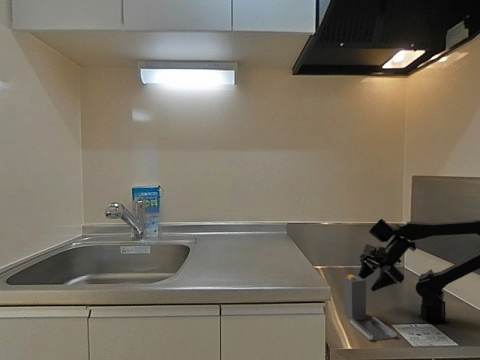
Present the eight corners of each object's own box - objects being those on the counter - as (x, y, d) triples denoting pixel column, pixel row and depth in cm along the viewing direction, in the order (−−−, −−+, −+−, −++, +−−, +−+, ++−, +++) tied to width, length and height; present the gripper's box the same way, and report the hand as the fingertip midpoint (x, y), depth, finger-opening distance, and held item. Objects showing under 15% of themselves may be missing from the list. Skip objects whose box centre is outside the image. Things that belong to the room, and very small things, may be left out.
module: (358, 312, 112) (357, 272, 112) (366, 319, 107) (365, 277, 107) (344, 314, 112) (344, 273, 111) (352, 320, 107) (351, 278, 106)
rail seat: (374, 321, 106) (374, 316, 106) (396, 337, 95) (396, 332, 95) (350, 323, 104) (350, 319, 104) (369, 340, 94) (369, 335, 94)
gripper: (363, 231, 120) (336, 262, 119) (395, 241, 102) (363, 278, 100) (383, 251, 121) (356, 282, 120) (418, 264, 103) (386, 302, 101)
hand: (364, 285), depth 110 cm, fingers open, 9 cm apart
